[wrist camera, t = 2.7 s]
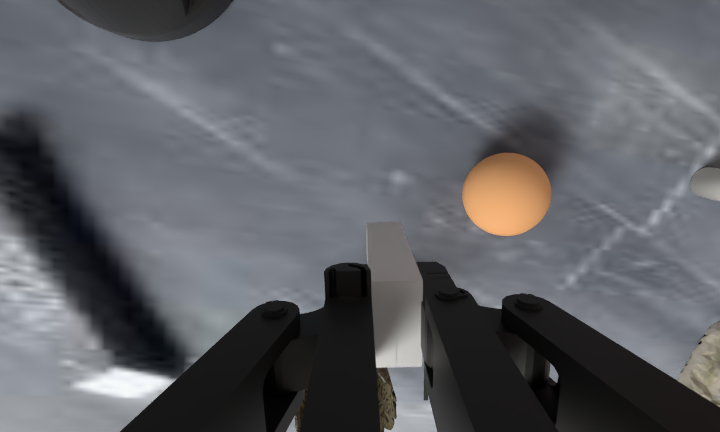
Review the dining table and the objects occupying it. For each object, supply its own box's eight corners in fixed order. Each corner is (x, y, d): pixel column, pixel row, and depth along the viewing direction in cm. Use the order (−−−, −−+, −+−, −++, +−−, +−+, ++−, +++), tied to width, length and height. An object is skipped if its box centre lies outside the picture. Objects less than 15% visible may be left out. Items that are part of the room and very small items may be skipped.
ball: (455, 150, 30) (477, 157, 25) (532, 148, 30) (573, 155, 24) (453, 224, 32) (473, 247, 26) (526, 222, 32) (563, 245, 26)
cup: (402, 324, 34) (414, 384, 26) (372, 392, 36) (375, 468, 28) (321, 297, 33) (309, 350, 26) (295, 367, 35) (276, 437, 27)
